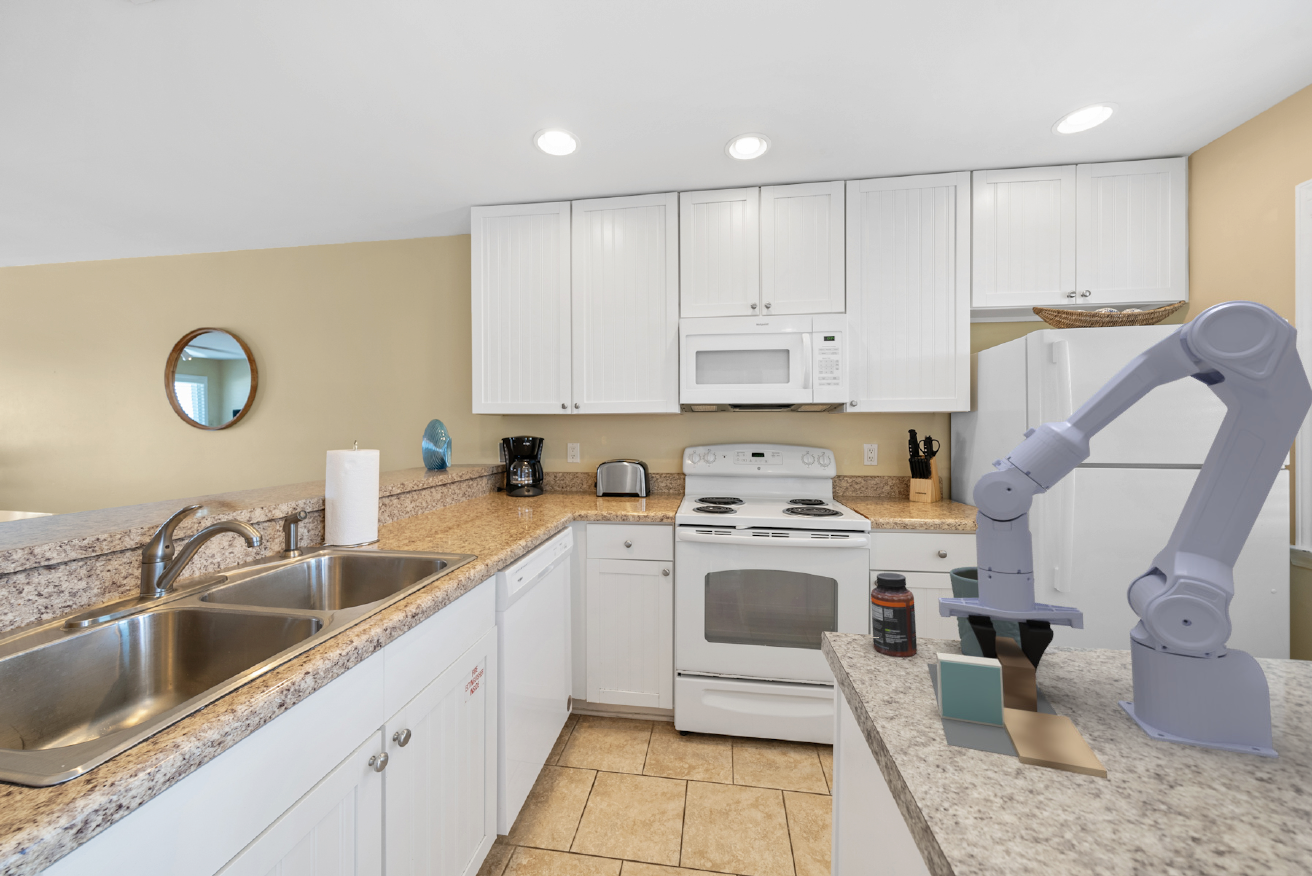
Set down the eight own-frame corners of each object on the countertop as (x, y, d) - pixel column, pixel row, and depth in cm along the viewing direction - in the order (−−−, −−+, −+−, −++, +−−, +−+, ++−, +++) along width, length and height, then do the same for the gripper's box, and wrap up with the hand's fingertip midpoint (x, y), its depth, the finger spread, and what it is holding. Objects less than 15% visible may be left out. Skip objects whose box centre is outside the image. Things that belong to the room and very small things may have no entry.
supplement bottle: (907, 644, 79) (904, 570, 79) (924, 659, 73) (920, 580, 73) (867, 643, 80) (864, 570, 80) (880, 659, 74) (877, 580, 74)
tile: (1000, 718, 56) (997, 659, 57) (1004, 728, 54) (1002, 666, 55) (938, 709, 59) (936, 652, 59) (941, 718, 57) (938, 659, 57)
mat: (1031, 678, 67) (1031, 675, 67) (1095, 773, 47) (1095, 769, 47) (927, 665, 71) (927, 663, 71) (947, 747, 52) (947, 744, 52)
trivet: (1068, 725, 55) (1067, 716, 55) (1107, 781, 46) (1106, 770, 46) (997, 714, 58) (997, 706, 58) (1020, 765, 49) (1020, 755, 49)
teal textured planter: (1054, 674, 67) (1050, 583, 68) (971, 671, 69) (967, 582, 69) (1014, 645, 77) (1010, 565, 78) (942, 643, 79) (939, 565, 79)
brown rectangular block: (1014, 676, 66) (1012, 637, 67) (1037, 713, 57) (1035, 668, 57) (987, 673, 68) (985, 635, 68) (1005, 709, 58) (1003, 665, 58)
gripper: (1066, 565, 64) (1071, 675, 63) (934, 558, 69) (938, 659, 69) (1088, 578, 57) (1094, 701, 57) (940, 570, 63) (945, 681, 62)
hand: (1010, 680), depth 62 cm, fingers closed on brown rectangular block, 3 cm apart
